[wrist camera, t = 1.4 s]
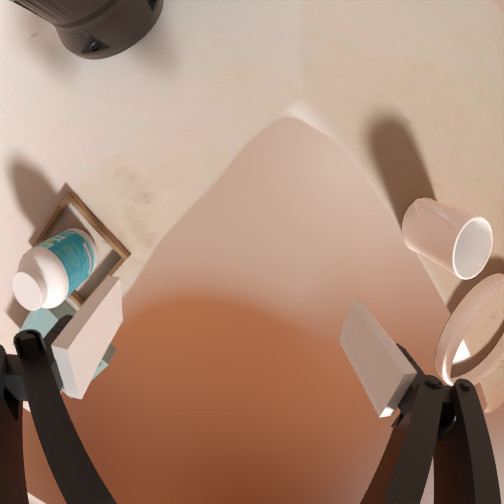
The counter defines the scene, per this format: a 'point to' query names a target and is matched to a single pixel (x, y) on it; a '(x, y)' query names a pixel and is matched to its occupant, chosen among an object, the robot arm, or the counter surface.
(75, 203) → the frame
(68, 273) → the pill bottle
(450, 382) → the white hollow ring
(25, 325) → the bin
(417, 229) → the mug
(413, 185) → the counter surface
